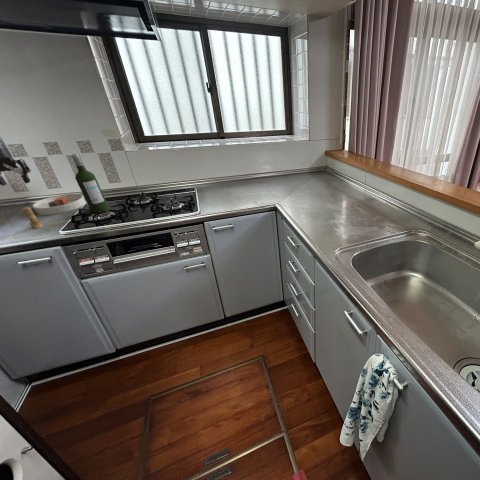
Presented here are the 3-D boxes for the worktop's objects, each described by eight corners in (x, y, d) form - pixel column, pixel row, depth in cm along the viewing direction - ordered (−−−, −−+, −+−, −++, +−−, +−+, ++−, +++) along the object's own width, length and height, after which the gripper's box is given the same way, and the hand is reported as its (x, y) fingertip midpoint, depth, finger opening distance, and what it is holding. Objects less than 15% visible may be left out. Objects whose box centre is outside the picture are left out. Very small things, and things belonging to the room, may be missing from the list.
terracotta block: (57, 206, 149) (54, 200, 147) (61, 203, 152) (57, 198, 150) (65, 205, 150) (62, 199, 148) (68, 203, 153) (65, 197, 151)
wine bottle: (103, 206, 150) (77, 152, 134) (112, 208, 147) (88, 153, 132) (88, 212, 143) (60, 155, 128) (98, 214, 141) (71, 156, 126)
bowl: (27, 218, 137) (22, 210, 135) (50, 203, 155) (46, 196, 153) (76, 213, 143) (72, 205, 140) (92, 199, 160) (89, 192, 158)
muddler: (30, 229, 127) (18, 210, 122) (35, 225, 130) (23, 206, 125) (40, 228, 128) (28, 208, 123) (45, 224, 131) (33, 205, 126)
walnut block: (51, 209, 145) (47, 203, 143) (54, 207, 148) (51, 201, 146) (59, 208, 146) (55, 202, 144) (62, 206, 149) (59, 200, 147)
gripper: (19, 143, 117) (40, 179, 125) (-22, 146, 113) (2, 183, 122) (8, 147, 111) (30, 184, 119) (-36, 149, 107) (-10, 188, 115)
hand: (16, 184), depth 120 cm, fingers open, 8 cm apart
